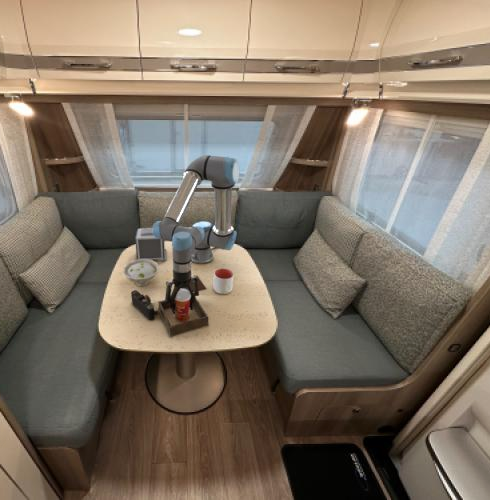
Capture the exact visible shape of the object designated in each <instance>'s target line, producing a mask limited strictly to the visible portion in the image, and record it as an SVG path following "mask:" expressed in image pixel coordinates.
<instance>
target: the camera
mask: <svg viewBox="0 0 490 500" xmlns="http://www.w3.org/2000/svg"><path fill="white" fill-rule="evenodd" d="M130 297H131V302H132V303H131V305H133V307H134V308H136V310H138V311H139V312H140V313H141V314H142V315H143V316H144V317H145V318H146V319H147V320H149V321H154V320H155V319H156V316H158V315H159V310H155V305H154V304H153V303H152V299H151V296H150V295H148V294H145V295H144V294H143V293H141V292H139V291H138V290H137V289H134V290H132V291H131V292H130Z"/></svg>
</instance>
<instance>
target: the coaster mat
mask: <svg viewBox="0 0 490 500" xmlns="http://www.w3.org/2000/svg"><path fill="white" fill-rule="evenodd" d="M195 276H196V277H197V278H198V281H197V285H198V291H199V292H200V291H203V290H206V289H207V288H206V286H205V284H204V283H203V282H202V280H201V279H200V277H199V276H198V275H195ZM189 286H190V287H191V289H192V291H193V293H194V286H193V281H192V280H191V282H190V283H189ZM181 289H187V290H188V288H187V287H185V288H181ZM188 291H189V290H188Z"/></svg>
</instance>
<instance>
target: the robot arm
mask: <svg viewBox="0 0 490 500" xmlns="http://www.w3.org/2000/svg"><path fill="white" fill-rule="evenodd" d="M182 177H183V179H182V181H181V183H180V185H179V187H178V189H177V191H176V192H175V195H174V196H173V199H172V201H171V203H170V204H169V206H168V208H167V211H166V213H165V215H164V217H163V219H162V220H158V221H156V222H154V224H153V225H152V228H153V229H152V233H153V235H154V237H156V238H159V239H162V240H164V241H168V242H171V247H172V277H173V278H172V280H171V281H166V282H165V285H166V289H165V297H164V300H165V301H166V303H167V304H168V303H170V308H169V309H171V313H172V315H173V316H176V310H175V302H174V300H175V298H176V295H177V293H178V291H179V290H180V289H182V288H185V287H187V288H188V290H189V292H190V294H191V298H190V305H189V310H191V311H193V310H194V305H193V303H194V302H195V299H197V297H198V296H200V290H199V291H198V285H197V281H198V278H199V277H198V278H197V277H196V276H197V275H193V276H192V263H193V264H196V265H197V264H199V265H203V264H208V263H210V262H212V261H213V258H214V255H213V252H212V251H213V250H216V249H220V250H223V251H231V250H233V247H234V246H235V243H236V239H237V235H238V233H237V230H234V226H233V225H232V193H233V192H232V191H233V190H232V189H233V188H234V187H235V186H236V184H237V183H238V181H239V178H240V163H239V161H238V160H237V158H234V157H230V156H217V155H209V154H206V155H201V156H199V157H197V158H196V159H194V160H192V162H191V163H189V165H188V166H187V167H186V168H185V170H184V172H183V175H182ZM203 181H210V183H211V187H212V188H213V189H214V222H215V223H214V225H213V224H212V222H210V221H199V222H195V223H193V225H192V226H190V227H188V226H182V225H180V224H181V222H182V219H183V218H184V215H185V213H186V211H187V209H188V207H189V205H190V203H191V201H192V198H193V196H194V194H195V192H196V190H197V188H198V186H201V184H202V182H203ZM211 247H212V248H211ZM191 280H192V281H193V286H194V292H193V291H192V289H191V287H190V286H189V283H190V282H191ZM172 288H173V289H172Z"/></svg>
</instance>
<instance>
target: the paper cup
mask: <svg viewBox="0 0 490 500" xmlns="http://www.w3.org/2000/svg"><path fill="white" fill-rule="evenodd" d="M190 298H191V294H190V292H189V291H188V290H187V289H182V288H181V289H180V290H179V291H178V293H177V295H176V298H175V317H176V320H177V321H178V322H187V320H188V319H189V315H190V307H189V305H190Z"/></svg>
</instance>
